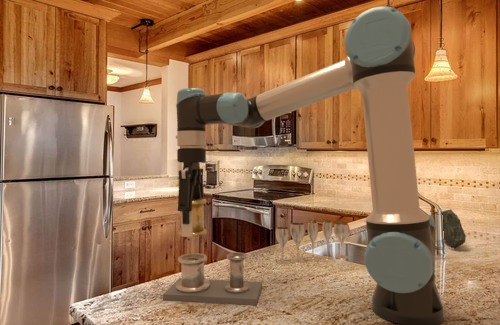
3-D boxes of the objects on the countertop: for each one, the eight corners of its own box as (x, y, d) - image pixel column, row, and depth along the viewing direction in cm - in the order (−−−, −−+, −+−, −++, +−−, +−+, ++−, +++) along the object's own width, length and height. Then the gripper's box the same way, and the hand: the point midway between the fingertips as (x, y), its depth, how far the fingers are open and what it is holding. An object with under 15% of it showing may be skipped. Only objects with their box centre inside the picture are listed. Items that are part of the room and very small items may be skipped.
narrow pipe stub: (250, 285, 96) (250, 252, 96) (246, 294, 89) (246, 258, 89) (227, 284, 97) (227, 251, 96) (222, 292, 90) (221, 257, 90)
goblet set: (279, 265, 118) (278, 226, 118) (273, 260, 123) (273, 223, 123) (353, 258, 125) (353, 221, 125) (344, 254, 131) (344, 218, 131)
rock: (443, 249, 148) (433, 216, 152) (459, 247, 146) (448, 213, 151) (452, 247, 132) (440, 209, 136) (470, 244, 130) (458, 206, 135)
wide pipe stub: (213, 281, 99) (213, 253, 98) (204, 294, 90) (204, 262, 90) (182, 280, 100) (182, 252, 100) (170, 292, 91) (170, 261, 91)
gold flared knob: (209, 230, 98) (209, 198, 98) (202, 237, 90) (201, 202, 90) (183, 230, 99) (183, 198, 99) (173, 236, 91) (173, 201, 91)
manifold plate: (262, 287, 98) (262, 282, 98) (256, 305, 86) (256, 299, 86) (179, 283, 102) (179, 278, 102) (163, 300, 90) (162, 294, 90)
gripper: (190, 148, 105) (190, 225, 105) (163, 146, 85) (164, 241, 85) (214, 148, 104) (215, 225, 104) (193, 146, 84) (194, 242, 84)
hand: (192, 232), depth 95 cm, fingers closed on gold flared knob, 8 cm apart
